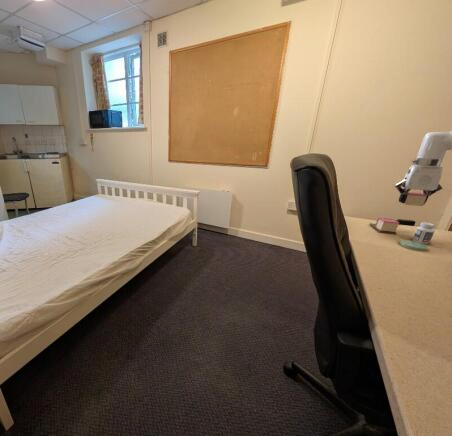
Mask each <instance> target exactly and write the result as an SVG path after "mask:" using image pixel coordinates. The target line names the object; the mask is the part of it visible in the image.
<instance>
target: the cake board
mask: <svg viewBox="0 0 452 436" xmlns="http://www.w3.org/2000/svg"><path fill="white" fill-rule="evenodd" d="M375 225H376V223H369V226H370V227H371V228H373V229H374V230H376V231H377V232H379V233H380V234H381V233H382V234H391V235H396V234H397V231H396V232H391V231H382V230H379V229H378V228H377V227H375Z"/></svg>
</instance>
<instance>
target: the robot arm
mask: <svg viewBox="0 0 452 436" xmlns="http://www.w3.org/2000/svg"><path fill="white" fill-rule="evenodd" d="M447 151H452V130H450V131H430V132H427V133H426V134H424V137H423V138H422V141H421V144H420V147H419V150H418V152H417V155H416V157H415V159H411V160H410V163H411V164H413V165H410V167H409V168H408V170H407V171H406V173H405V176H404V177H403V179H402V180H401V181H399V182H397V183H396V184H394V187H395V189H396V190H397V191H398V192H399V193H400V194H399V198H398V203H400V204H402V203H405V201H406V198H407V195H406V194H407V193H408V192H411V190H417V191H422V194H425V195H427V197H426V200H425V202H424V204H423V206H424V205H425V204H426V203H427V202H428V199H429V197H432V195H434V194H436V193H438V192H440V191H441V190H442V189H443V186H442V185H441V184H440V182H441V178H442V174H443V166H441V164H442V163H443V160H444V158H445V156H446V153H447Z"/></svg>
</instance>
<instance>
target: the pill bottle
mask: <svg viewBox="0 0 452 436" xmlns="http://www.w3.org/2000/svg"><path fill="white" fill-rule="evenodd" d="M434 228H435V224H434V223H430V222H426V221H422V222H421V223H420V226H418V227H417V228H416V230H415V232H414V234H413V237H412V241H415V242H418V243H421V244H424V245H429V244H430V243H431V240H432V238H433V236H434V234H435V229H434Z"/></svg>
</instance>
